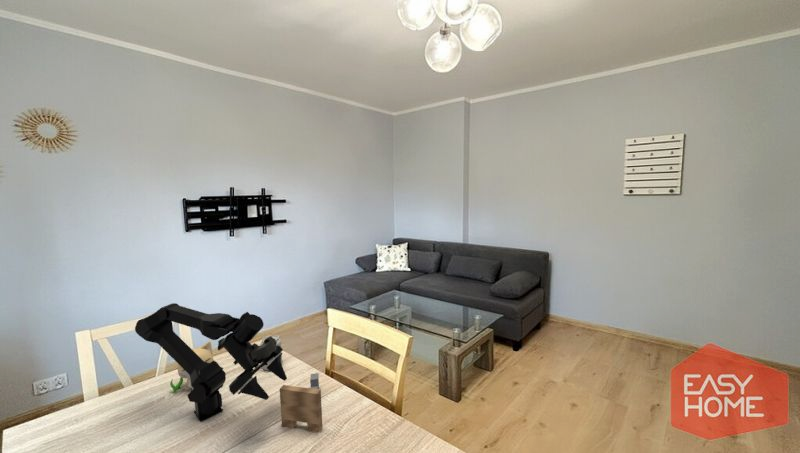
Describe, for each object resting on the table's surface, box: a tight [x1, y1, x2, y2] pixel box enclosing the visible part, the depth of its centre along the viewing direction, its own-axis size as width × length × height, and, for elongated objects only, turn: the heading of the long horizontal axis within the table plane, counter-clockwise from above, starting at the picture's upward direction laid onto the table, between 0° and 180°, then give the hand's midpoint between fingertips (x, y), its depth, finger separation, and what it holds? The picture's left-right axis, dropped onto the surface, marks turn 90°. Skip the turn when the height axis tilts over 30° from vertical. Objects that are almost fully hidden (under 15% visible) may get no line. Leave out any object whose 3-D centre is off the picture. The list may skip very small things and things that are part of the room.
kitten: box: [169, 340, 220, 393], centre depth 117 cm, size 15×10×15 cm
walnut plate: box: [279, 384, 323, 433], centre depth 96 cm, size 12×2×12 cm, turn 78°
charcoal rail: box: [309, 372, 320, 390], centre depth 108 cm, size 14×2×5 cm, turn 12°
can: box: [259, 334, 283, 372], centre depth 128 cm, size 8×8×12 cm
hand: (277, 388), depth 97 cm, fingers open, 9 cm apart
